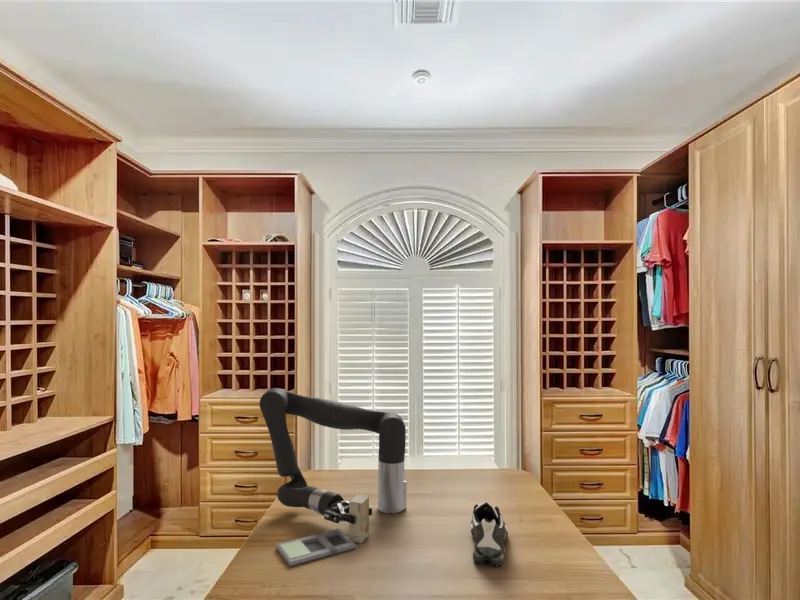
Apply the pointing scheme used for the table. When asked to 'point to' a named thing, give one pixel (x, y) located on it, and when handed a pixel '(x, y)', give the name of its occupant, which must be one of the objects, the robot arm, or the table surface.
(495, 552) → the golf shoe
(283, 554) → the board
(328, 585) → the table surface
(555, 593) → the table surface
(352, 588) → the table surface
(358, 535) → the skincare box
